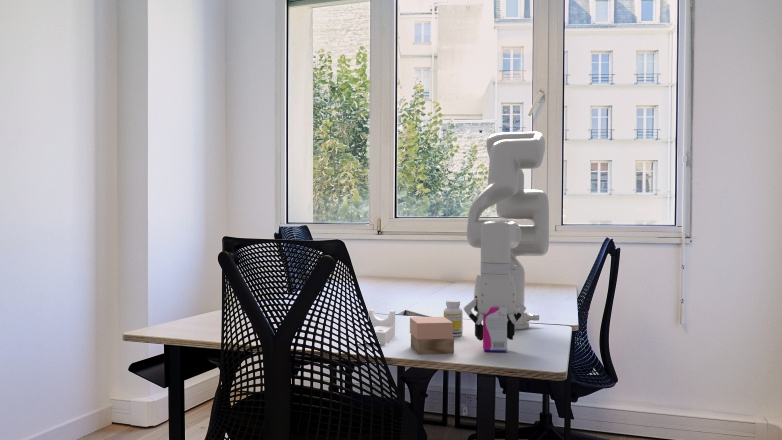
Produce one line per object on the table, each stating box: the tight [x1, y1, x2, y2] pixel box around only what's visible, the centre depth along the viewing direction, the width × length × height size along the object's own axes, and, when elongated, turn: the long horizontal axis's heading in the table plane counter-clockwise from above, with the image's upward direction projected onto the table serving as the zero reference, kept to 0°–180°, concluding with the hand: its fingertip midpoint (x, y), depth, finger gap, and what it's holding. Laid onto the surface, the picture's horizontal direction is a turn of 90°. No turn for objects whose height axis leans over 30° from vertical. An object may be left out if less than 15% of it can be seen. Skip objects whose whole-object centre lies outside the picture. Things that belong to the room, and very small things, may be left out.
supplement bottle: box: [443, 299, 464, 337], centre depth 174 cm, size 5×5×10 cm
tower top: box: [409, 316, 454, 340], centre depth 154 cm, size 9×9×4 cm
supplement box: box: [482, 306, 508, 354], centre depth 155 cm, size 6×6×12 cm
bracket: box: [368, 308, 396, 346], centre depth 167 cm, size 13×7×8 cm, turn 168°
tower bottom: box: [410, 333, 455, 356], centre depth 154 cm, size 9×9×4 cm
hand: (494, 338), depth 155 cm, fingers open, 7 cm apart
